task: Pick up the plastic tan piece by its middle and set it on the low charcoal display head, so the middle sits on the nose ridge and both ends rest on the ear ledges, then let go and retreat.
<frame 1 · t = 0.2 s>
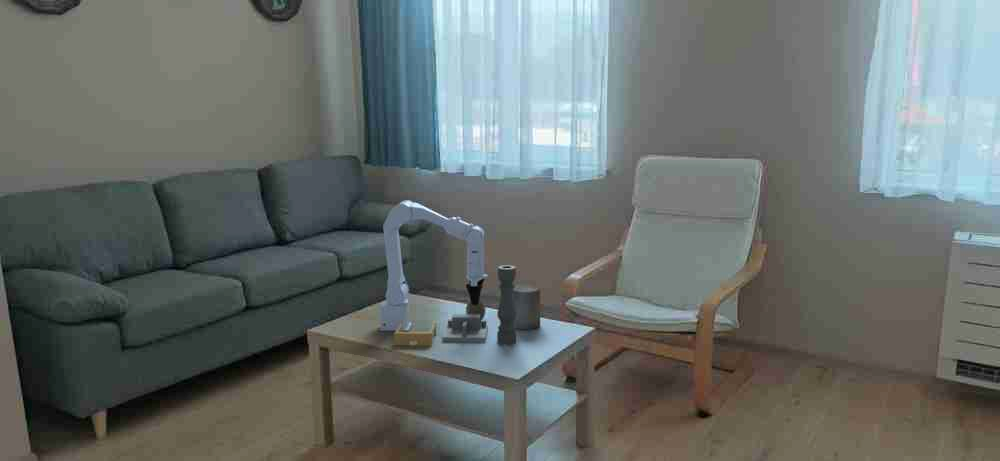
hand: (475, 301, 258), 10 cm above the table, tool pointing down, fingers open, 7 cm apart
display head: (464, 340, 249), on the table
candle holder: (506, 342, 247), on the table
vase: (475, 320, 271), on the table
pillar candle: (525, 326, 264), on the table
tan piece: (413, 344, 245), on the table
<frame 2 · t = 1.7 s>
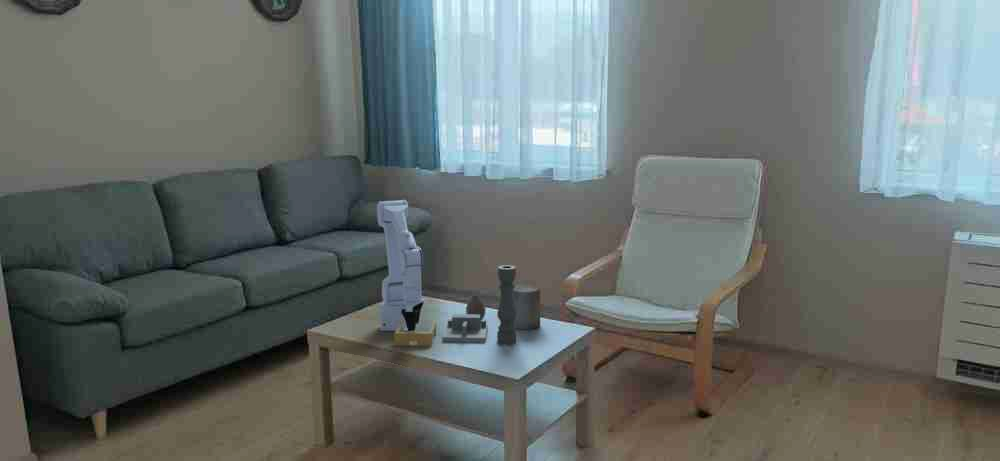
hand: (413, 327, 244), 6 cm above the table, tool pointing down, fingers open, 7 cm apart
nothing on the table moved.
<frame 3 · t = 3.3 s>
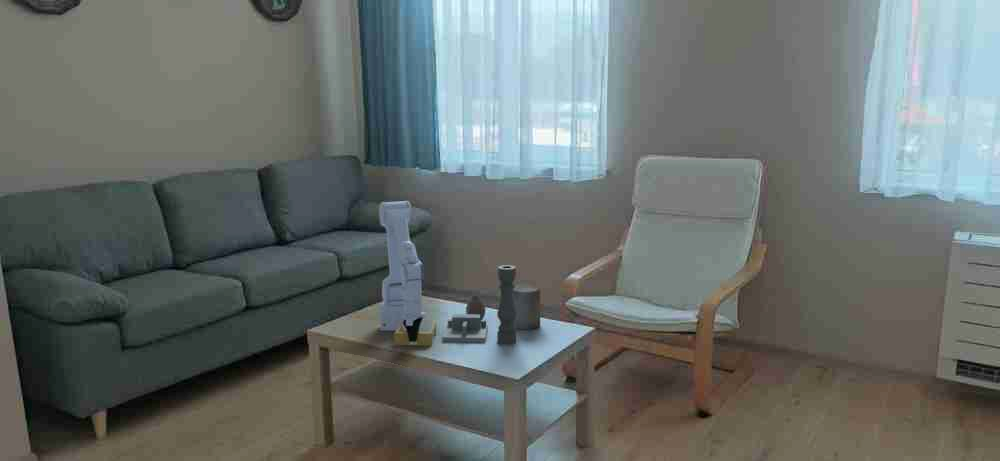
hand: (413, 340, 245), 1 cm above the table, tool pointing down, fingers closed on tan piece, 2 cm apart
tan piece: (413, 344, 245), on the table, touching gripper
everything else where it was.
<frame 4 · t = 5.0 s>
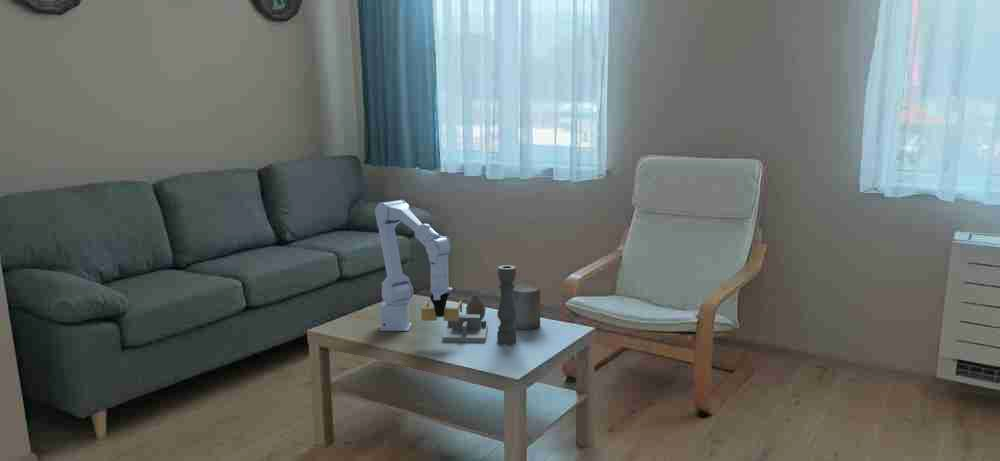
hand: (440, 315, 245), 9 cm above the table, tool pointing down, fingers closed on tan piece
tan piece: (440, 320, 245), point 8 cm above the table, touching gripper
everything else where it was.
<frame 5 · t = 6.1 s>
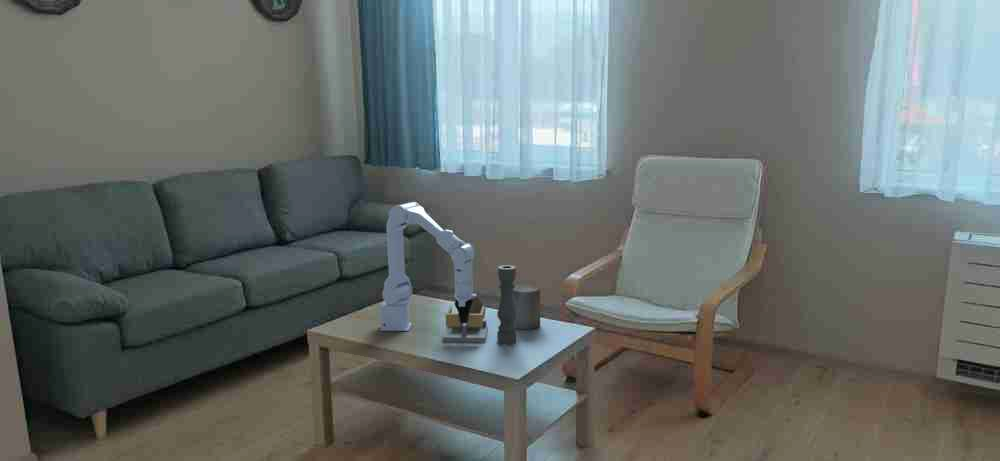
hand: (464, 321, 248), 6 cm above the table, tool pointing down, fingers closed on tan piece, 2 cm apart
tan piece: (464, 326, 248), point 5 cm above the table, touching gripper
everything else where it was.
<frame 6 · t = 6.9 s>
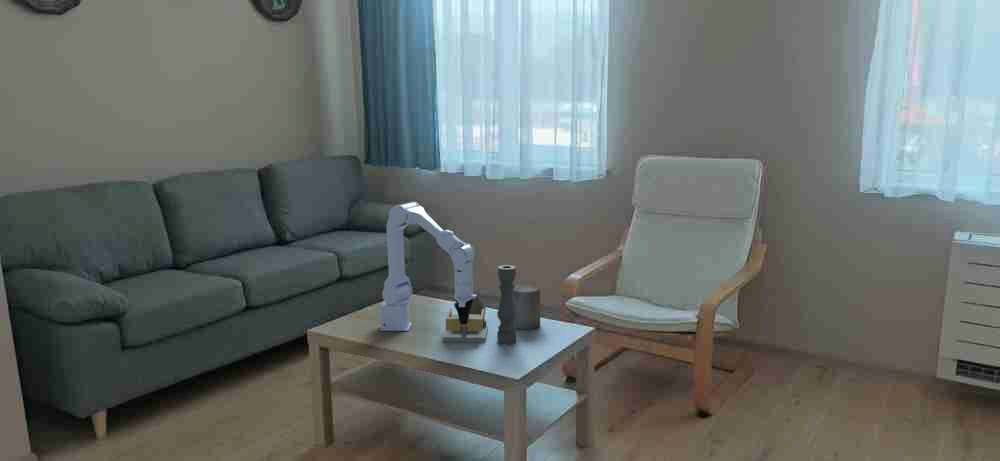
hand: (464, 322, 248), 6 cm above the table, tool pointing down, fingers open, 3 cm apart
tan piece: (464, 330, 248), point 3 cm above the table, touching display head
everything else where it was.
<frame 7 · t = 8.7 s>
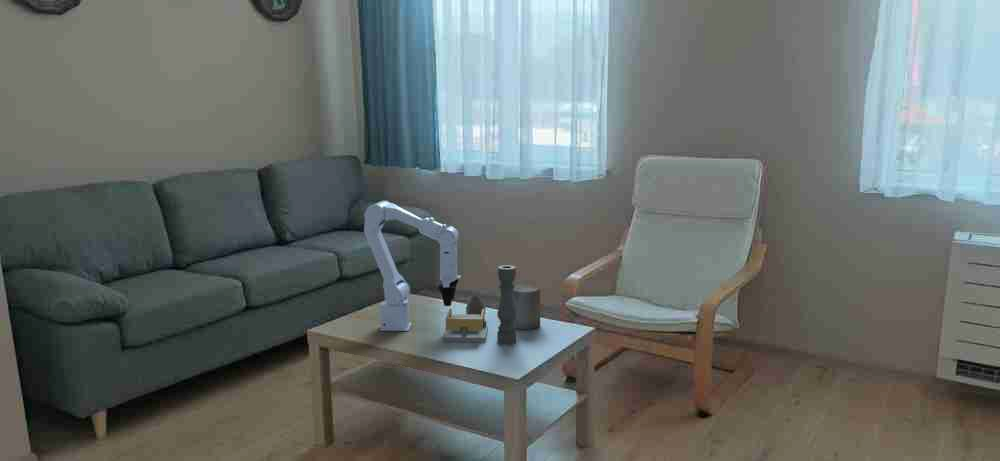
hand: (449, 302, 256), 10 cm above the table, tool pointing down, fingers open, 7 cm apart
nothing on the table moved.
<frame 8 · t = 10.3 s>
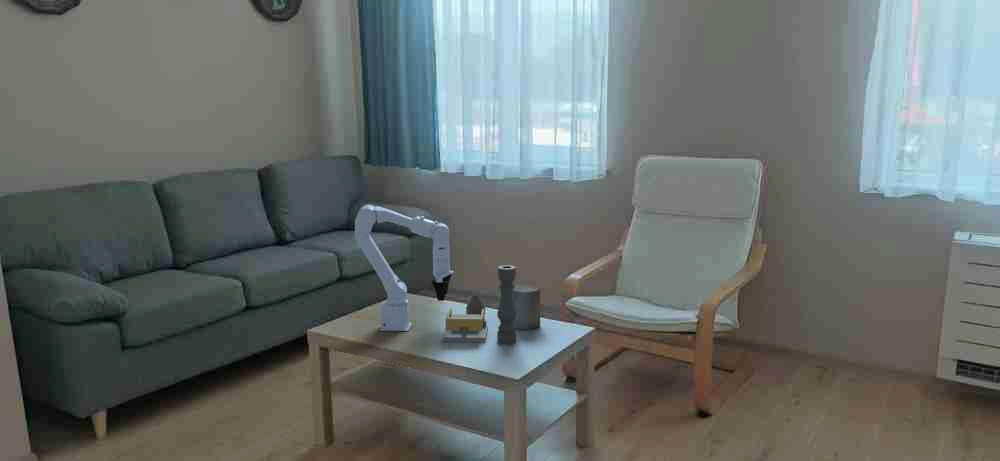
hand: (442, 297, 261), 10 cm above the table, tool pointing down, fingers open, 7 cm apart
nothing on the table moved.
at the end: tan piece 0.1 cm off-centre on the display head, point 3.5 cm above the display head's base; tan piece tilted 0°; the gripper is holding nothing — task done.
